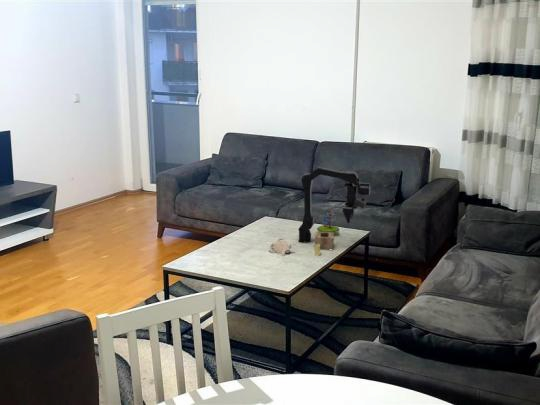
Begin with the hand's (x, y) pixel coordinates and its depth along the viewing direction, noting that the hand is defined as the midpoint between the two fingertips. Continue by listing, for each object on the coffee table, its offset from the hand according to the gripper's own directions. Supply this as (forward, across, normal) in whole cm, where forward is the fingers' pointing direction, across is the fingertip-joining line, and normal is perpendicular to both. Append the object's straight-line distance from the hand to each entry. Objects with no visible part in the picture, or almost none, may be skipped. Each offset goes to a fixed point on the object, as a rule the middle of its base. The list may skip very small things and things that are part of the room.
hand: (349, 220), depth 346 cm
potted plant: (+14, +17, +15) cm, 27 cm away
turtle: (+15, -24, +34) cm, 44 cm away
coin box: (+14, -8, +12) cm, 21 cm away
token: (+14, -22, +14) cm, 29 cm away
